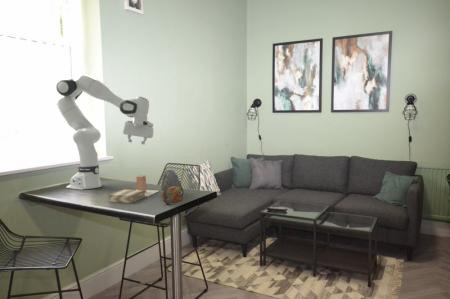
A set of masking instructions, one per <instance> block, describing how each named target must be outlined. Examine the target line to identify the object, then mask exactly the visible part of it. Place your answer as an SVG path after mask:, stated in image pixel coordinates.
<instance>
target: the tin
mask: <svg viewBox="0 0 450 299" xmlns="http://www.w3.org/2000/svg"><path fill="white" fill-rule="evenodd" d="M181 186H182V185H181ZM181 186H174V187H170V188H167V189H165V190H164V191H163V192H162V201H163V202H164V204H166V205H173V204H175V203H179V202H180V201H182V199H183V198H184V189H183V186H182V187H181ZM172 203H173V204H172Z"/></svg>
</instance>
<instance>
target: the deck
mask: <svg viewBox="0 0 450 299" xmlns="http://www.w3.org/2000/svg"><path fill="white" fill-rule="evenodd" d="M145 197H146V196H145V190H137V189H121V190H118V191H115V192H112V193H110V194H108V199H109V200H108V201H109V203H125V204H134V203H135V202H137V201H140V200H142V199H143V198H144V199H145Z"/></svg>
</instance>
